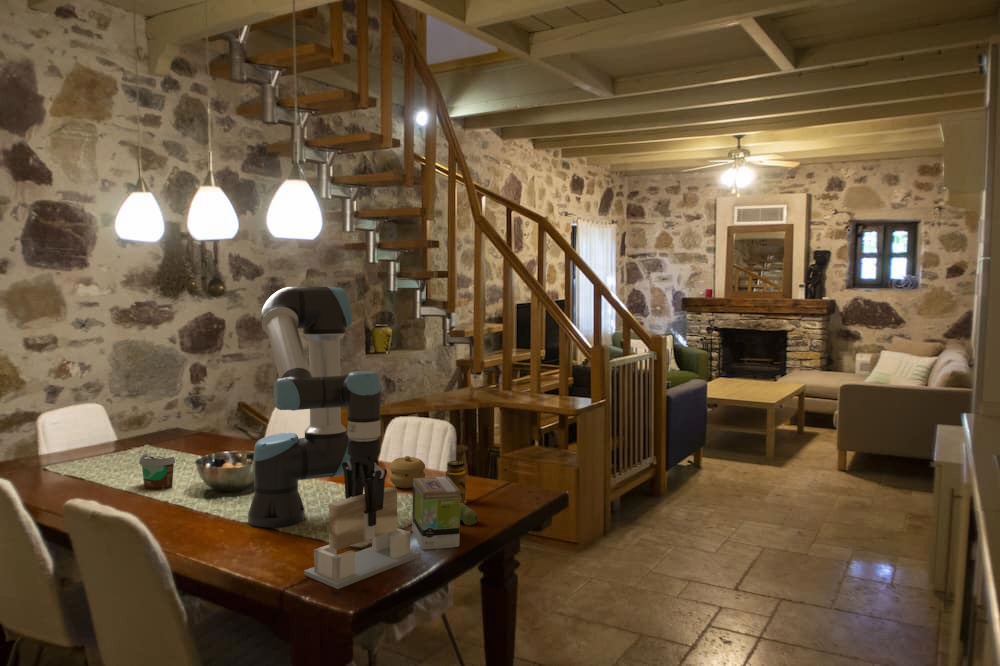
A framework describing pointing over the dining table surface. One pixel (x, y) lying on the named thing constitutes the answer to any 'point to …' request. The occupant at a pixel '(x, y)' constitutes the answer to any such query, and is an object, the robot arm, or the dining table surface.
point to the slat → (359, 519)
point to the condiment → (457, 476)
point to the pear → (468, 515)
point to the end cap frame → (361, 560)
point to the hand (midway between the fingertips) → (364, 536)
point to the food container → (157, 472)
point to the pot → (406, 471)
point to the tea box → (436, 512)
